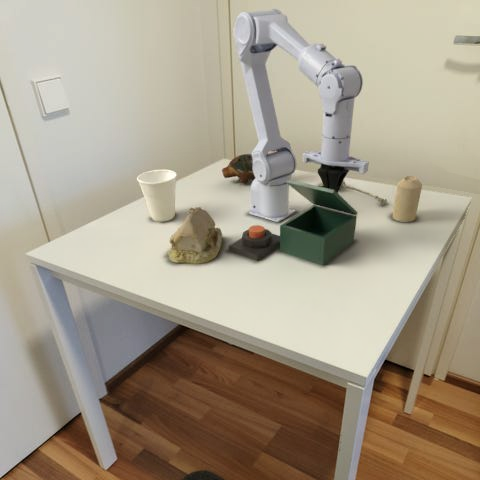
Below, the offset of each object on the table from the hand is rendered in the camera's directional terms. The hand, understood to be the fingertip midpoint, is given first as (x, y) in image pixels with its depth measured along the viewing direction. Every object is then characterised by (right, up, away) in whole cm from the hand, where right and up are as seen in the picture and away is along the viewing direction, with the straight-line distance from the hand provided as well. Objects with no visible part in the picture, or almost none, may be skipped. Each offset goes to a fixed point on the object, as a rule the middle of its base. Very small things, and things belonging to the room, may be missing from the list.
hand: (331, 199), depth 99 cm
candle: (+21, -1, +13) cm, 24 cm away
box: (-3, -10, +3) cm, 11 cm away
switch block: (-16, -10, +4) cm, 19 cm away
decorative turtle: (-18, +19, +36) cm, 44 cm away
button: (-16, -8, +2) cm, 18 cm away
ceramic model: (-30, -11, +4) cm, 32 cm away
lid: (-3, -1, -3) cm, 4 cm away
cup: (-40, 0, +19) cm, 45 cm away
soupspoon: (+11, +8, +26) cm, 30 cm away
